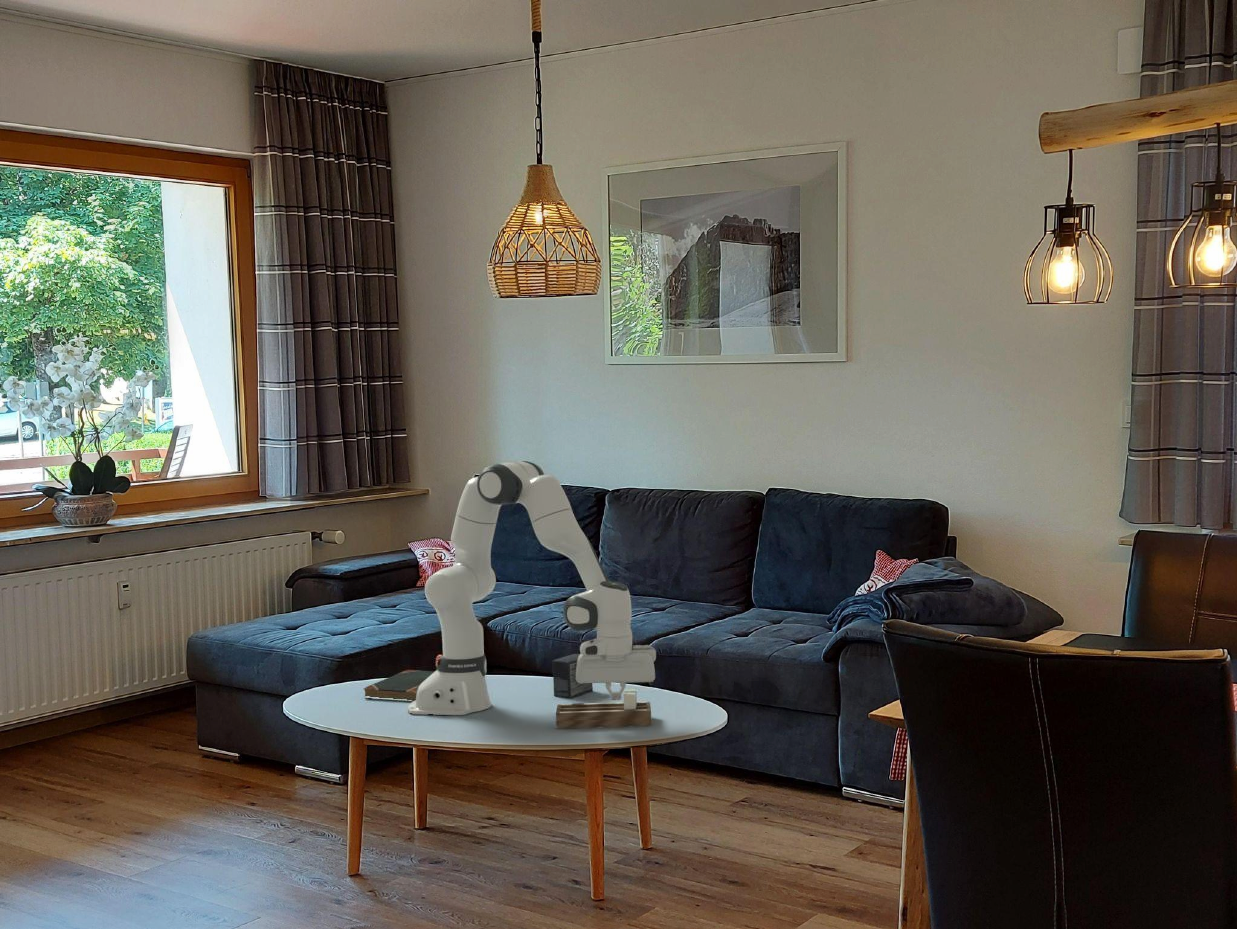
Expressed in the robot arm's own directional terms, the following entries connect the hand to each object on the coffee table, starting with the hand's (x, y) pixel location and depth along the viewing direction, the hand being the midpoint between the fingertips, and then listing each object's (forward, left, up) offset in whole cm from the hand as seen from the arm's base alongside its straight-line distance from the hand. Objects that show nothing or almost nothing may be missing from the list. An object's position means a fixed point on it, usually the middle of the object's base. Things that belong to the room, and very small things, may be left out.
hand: (615, 699), depth 321 cm
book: (-59, +45, -7) cm, 75 cm away
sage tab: (+4, +4, -4) cm, 7 cm away
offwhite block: (+4, 0, -4) cm, 6 cm away
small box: (-12, +35, -7) cm, 38 cm away
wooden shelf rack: (-3, +2, -6) cm, 7 cm away
